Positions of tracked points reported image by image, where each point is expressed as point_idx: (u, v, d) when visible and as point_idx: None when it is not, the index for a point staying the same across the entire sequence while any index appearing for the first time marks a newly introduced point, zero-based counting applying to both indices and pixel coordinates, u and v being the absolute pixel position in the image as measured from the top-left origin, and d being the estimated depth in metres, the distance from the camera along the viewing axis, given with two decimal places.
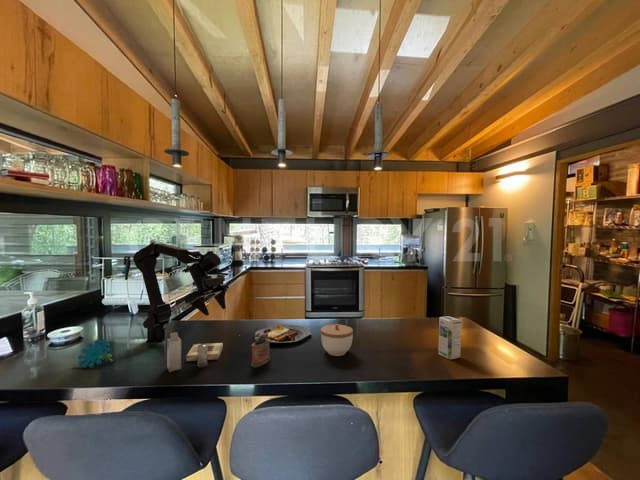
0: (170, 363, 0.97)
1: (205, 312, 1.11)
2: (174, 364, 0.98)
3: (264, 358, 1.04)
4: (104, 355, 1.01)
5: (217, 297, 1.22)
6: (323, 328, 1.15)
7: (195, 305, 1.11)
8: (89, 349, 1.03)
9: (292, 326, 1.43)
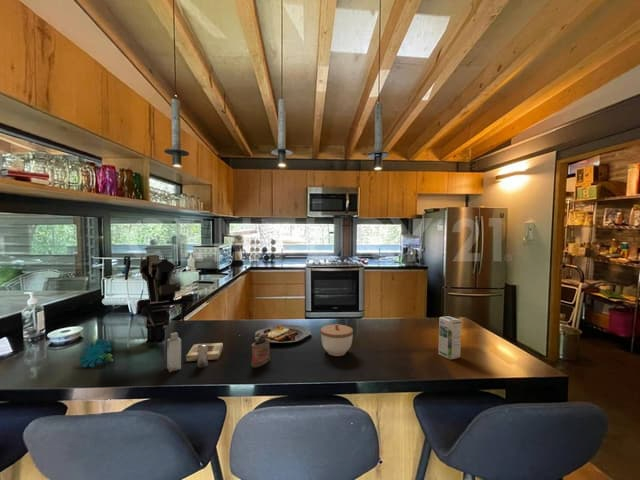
0: (170, 363, 0.97)
1: (152, 322, 1.03)
2: (174, 364, 0.98)
3: (264, 358, 1.04)
4: (104, 355, 1.02)
5: (180, 310, 1.12)
6: (323, 328, 1.15)
7: (146, 315, 1.06)
8: (90, 349, 1.03)
9: (292, 326, 1.43)
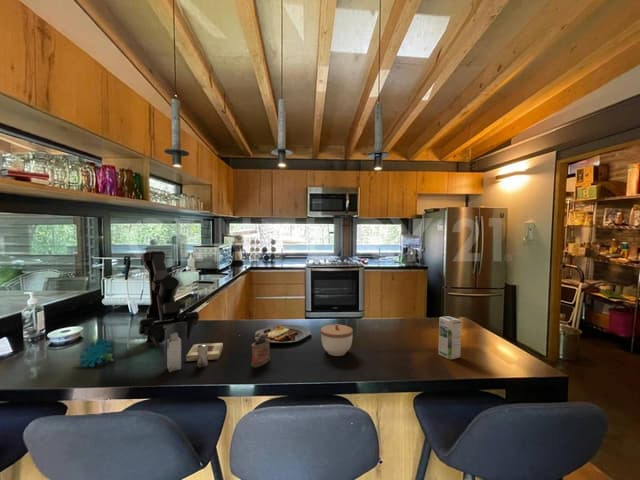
0: (170, 363, 0.97)
1: (156, 343, 0.97)
2: (174, 364, 0.98)
3: (264, 358, 1.04)
4: (105, 355, 1.02)
5: (185, 328, 1.07)
6: (323, 328, 1.15)
7: (149, 335, 1.00)
8: (91, 348, 1.04)
9: (292, 326, 1.43)
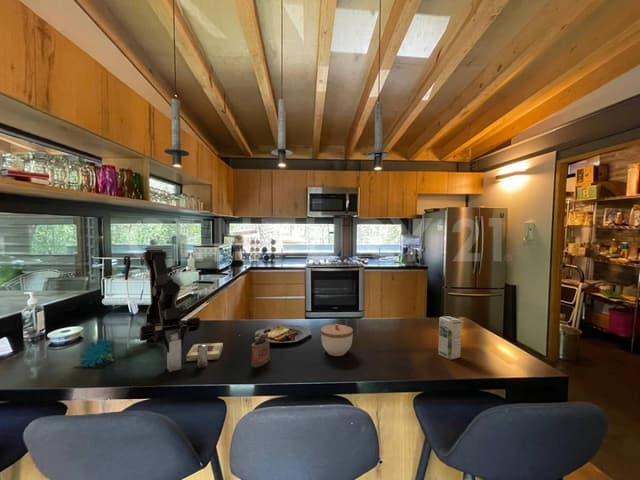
0: (170, 363, 0.97)
1: (166, 348, 0.97)
2: (174, 364, 0.98)
3: (264, 358, 1.04)
4: (105, 355, 1.02)
5: (179, 335, 1.04)
6: (323, 328, 1.15)
7: (159, 340, 1.00)
8: (91, 348, 1.04)
9: (292, 326, 1.43)
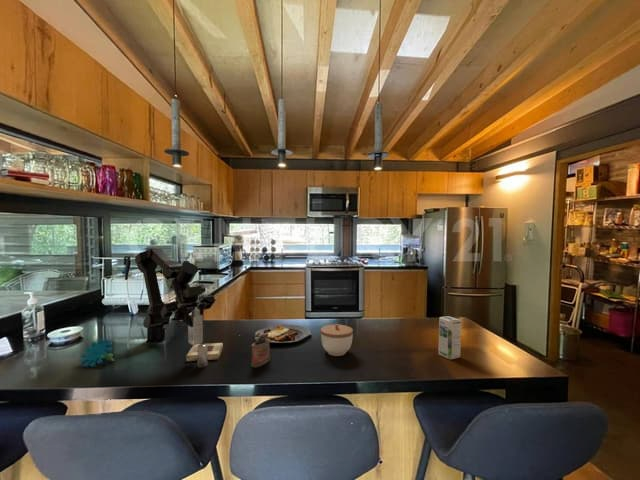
0: (194, 337, 1.04)
1: (189, 323, 1.04)
2: (197, 337, 1.05)
3: (264, 358, 1.04)
4: (105, 355, 1.02)
5: None
6: (323, 328, 1.15)
7: (180, 317, 1.06)
8: (92, 348, 1.04)
9: (292, 326, 1.43)
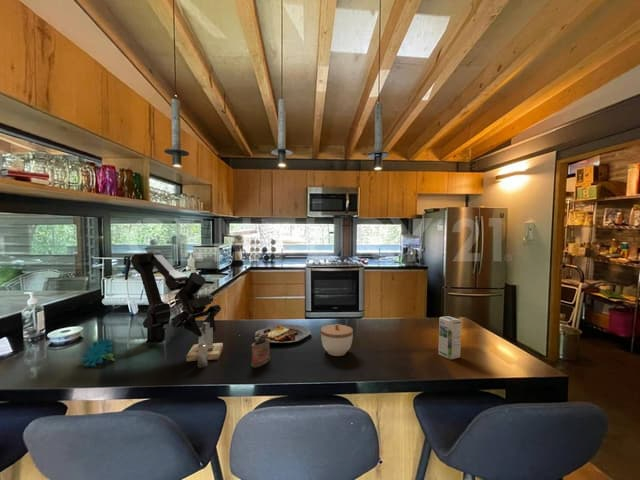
0: None
1: (198, 333, 1.08)
2: (208, 349, 1.11)
3: (264, 358, 1.04)
4: (105, 354, 1.02)
5: (207, 321, 1.16)
6: (323, 328, 1.15)
7: (188, 327, 1.09)
8: (93, 348, 1.04)
9: (292, 326, 1.43)
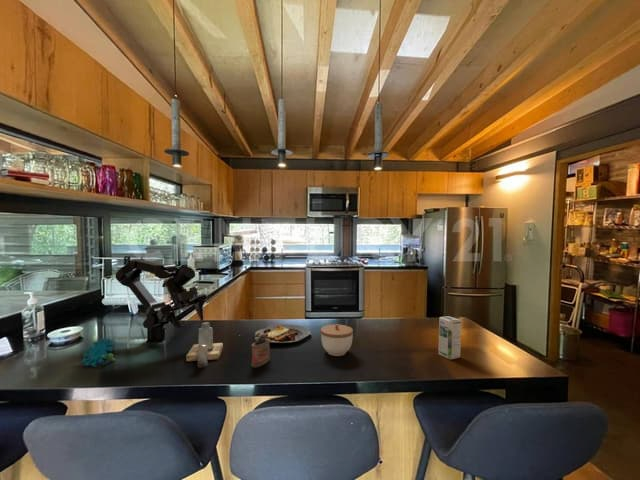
0: None
1: (177, 326, 1.14)
2: (208, 349, 1.11)
3: (264, 358, 1.04)
4: (106, 354, 1.02)
5: (196, 309, 1.23)
6: (323, 328, 1.15)
7: (169, 319, 1.15)
8: (94, 347, 1.05)
9: (292, 326, 1.43)
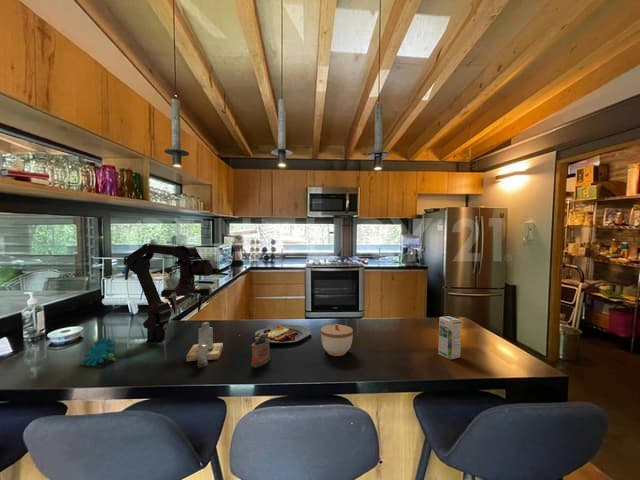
0: None
1: None
2: (208, 349, 1.11)
3: (264, 358, 1.04)
4: (106, 354, 1.02)
5: None
6: (323, 328, 1.15)
7: None
8: (95, 347, 1.05)
9: (292, 326, 1.43)
